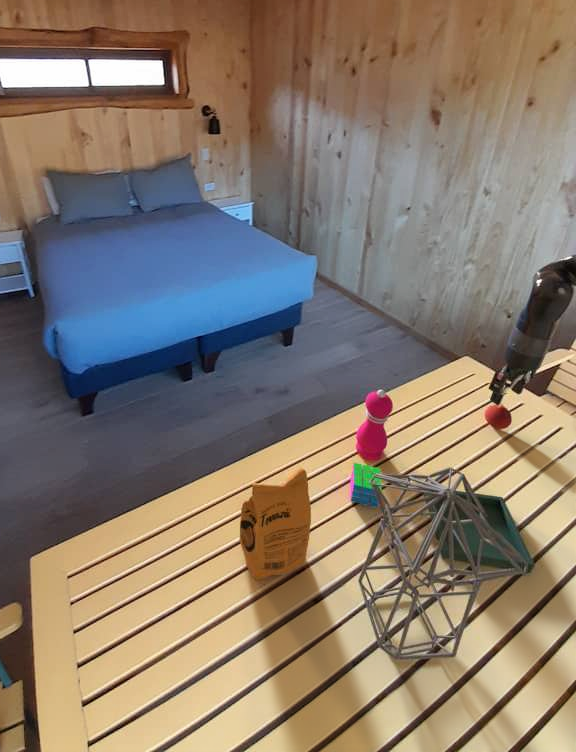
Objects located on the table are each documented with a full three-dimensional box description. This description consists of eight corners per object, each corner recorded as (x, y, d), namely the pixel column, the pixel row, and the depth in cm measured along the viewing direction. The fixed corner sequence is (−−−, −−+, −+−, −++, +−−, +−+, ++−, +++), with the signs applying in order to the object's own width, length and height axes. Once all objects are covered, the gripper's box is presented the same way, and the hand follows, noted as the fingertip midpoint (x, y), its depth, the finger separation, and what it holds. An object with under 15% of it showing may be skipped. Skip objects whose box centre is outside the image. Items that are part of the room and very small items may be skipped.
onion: (506, 423, 108) (515, 401, 104) (507, 439, 104) (517, 416, 100) (481, 415, 111) (489, 393, 107) (481, 430, 106) (489, 408, 103)
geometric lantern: (342, 576, 76) (370, 450, 61) (421, 569, 77) (469, 442, 61) (377, 690, 62) (425, 563, 47) (474, 679, 63) (554, 552, 47)
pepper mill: (353, 458, 99) (365, 398, 90) (354, 436, 105) (365, 377, 96) (384, 466, 97) (399, 405, 88) (383, 442, 103) (397, 383, 94)
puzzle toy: (377, 508, 88) (381, 491, 86) (350, 501, 90) (353, 484, 87) (376, 484, 93) (380, 468, 90) (350, 478, 95) (353, 462, 92)
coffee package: (235, 534, 84) (235, 463, 74) (290, 519, 86) (297, 449, 76) (250, 588, 75) (252, 515, 65) (311, 569, 78) (322, 497, 68)
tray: (498, 505, 88) (502, 497, 87) (530, 573, 76) (535, 565, 75) (423, 494, 91) (425, 486, 89) (442, 558, 79) (445, 550, 78)
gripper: (525, 364, 89) (502, 416, 97) (562, 346, 95) (537, 398, 102) (492, 345, 95) (473, 396, 103) (528, 330, 101) (508, 379, 108)
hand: (505, 397), depth 102 cm, fingers open, 8 cm apart
